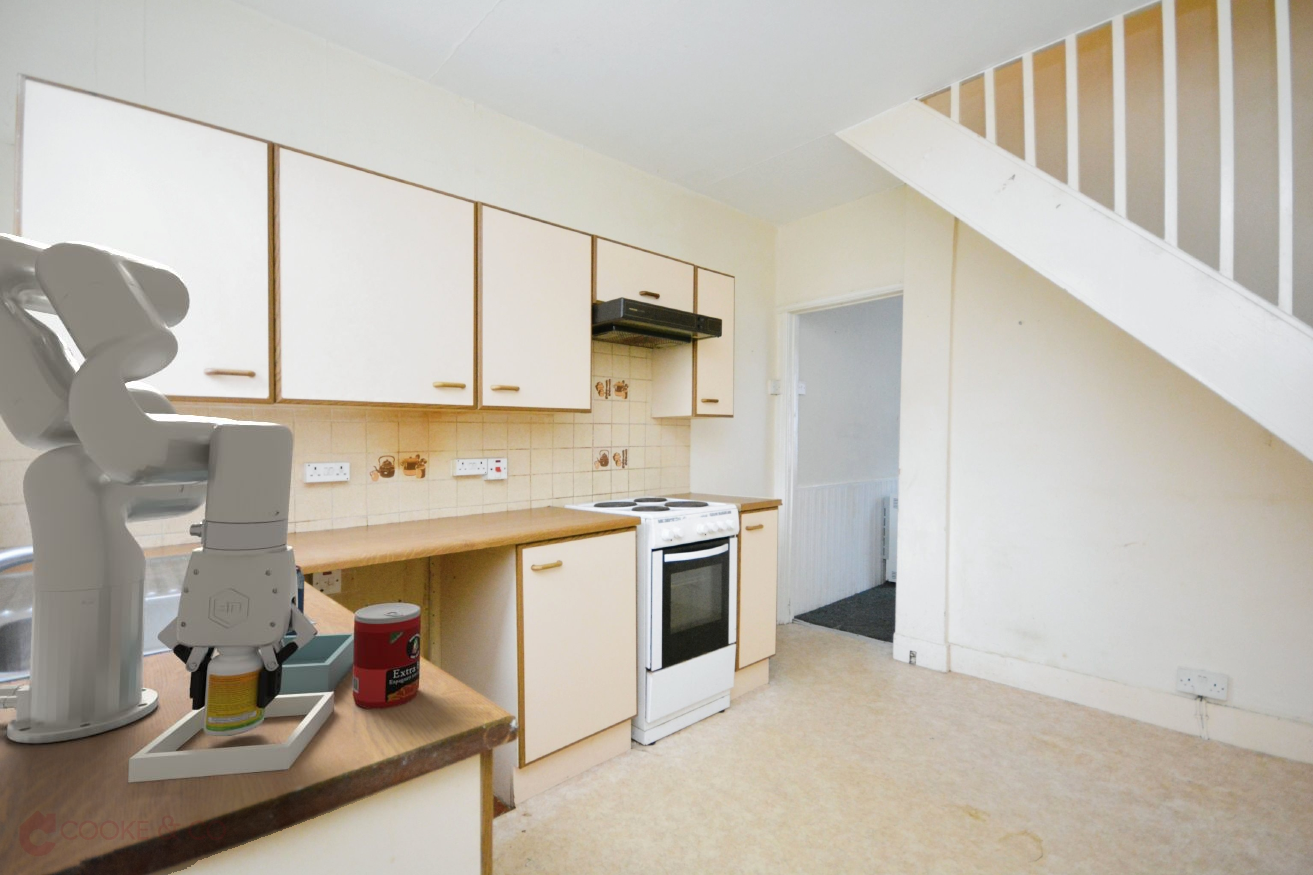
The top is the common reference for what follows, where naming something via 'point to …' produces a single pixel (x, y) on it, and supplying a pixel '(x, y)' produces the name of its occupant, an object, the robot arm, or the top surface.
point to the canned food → (386, 654)
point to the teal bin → (317, 664)
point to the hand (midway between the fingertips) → (235, 701)
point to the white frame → (168, 764)
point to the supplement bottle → (233, 691)
